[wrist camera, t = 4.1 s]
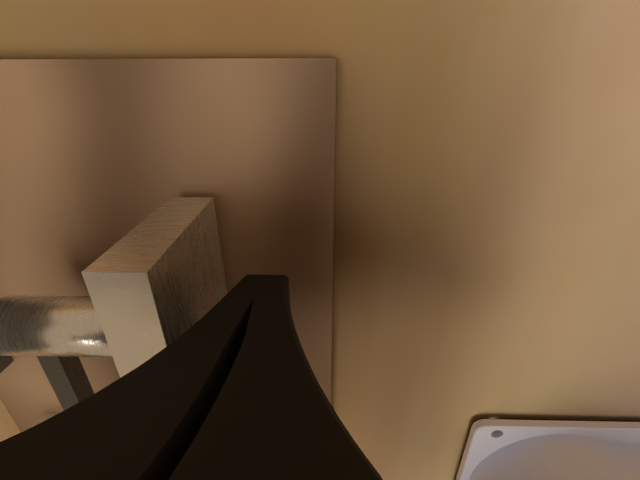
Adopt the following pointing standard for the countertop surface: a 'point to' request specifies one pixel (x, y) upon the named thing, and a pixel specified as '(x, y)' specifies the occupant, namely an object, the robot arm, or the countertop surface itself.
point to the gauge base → (164, 182)
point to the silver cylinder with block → (123, 299)
